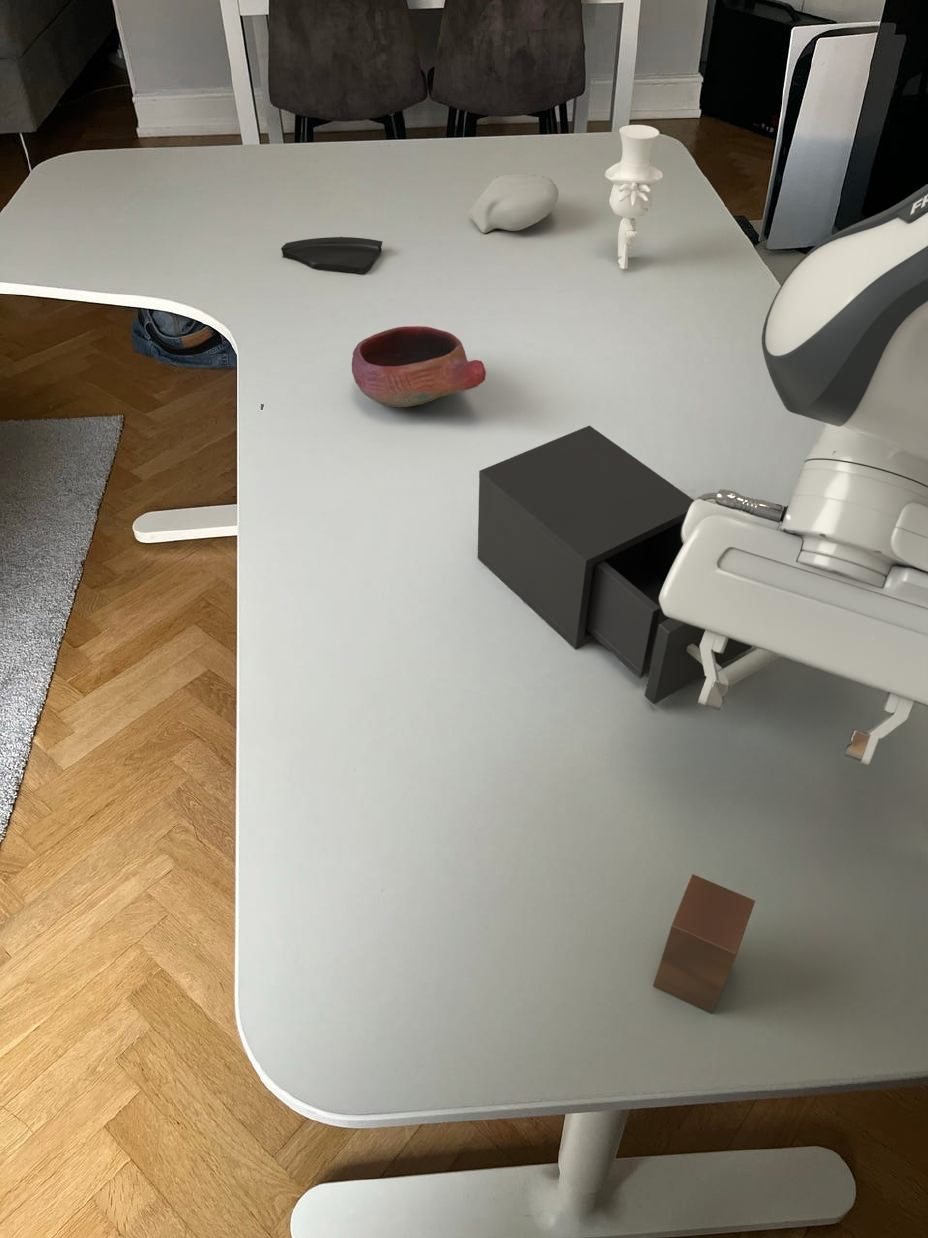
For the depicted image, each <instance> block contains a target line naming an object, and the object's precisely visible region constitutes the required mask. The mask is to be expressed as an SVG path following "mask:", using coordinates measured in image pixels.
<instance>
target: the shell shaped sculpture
mask: <svg viewBox="0 0 928 1238" xmlns="http://www.w3.org/2000/svg"><path fill="white" fill-rule="evenodd" d="M559 195H560V191H559V189H558V187H557V185H556V183H554V180H553V179H552V178H550V177H547V176H544V175H537V174H534V173H508V174H504V175H500V176H496V177H495V178H494V179H493V181H491V182H490V183H489V185H488V186H487V187H486V189H485V191H484V192H482V193H481V194H480V196H479V197H478V198H477V200H476V202H475V203H474V204H473V205H472V206H471V208H470V210H469V215H470V216H471V219H472V221H473V223H474V224H475V225H476V226H477V228H478V229H479V231H480V232H481V233H482V234H487V233H489V232H491V231H493V230H496V229H500V230H504V231H510V232H511V231H512V232H516V231H522V230H524V229H526V228H528V227H530V226H531V227H532V226H533V225H535V224H537V223H538V222H540V221H541V220H543V219H544V218H546V217H547V216H548V215H549V214H550V213H551V212H552V211H553V209H554V208H555V206H556V205H557V203H558V200H559Z"/></svg>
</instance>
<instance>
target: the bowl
mask: <svg viewBox="0 0 928 1238" xmlns="http://www.w3.org/2000/svg"><path fill="white" fill-rule="evenodd" d="M351 373H352V376H353V379H354V381H355V383H356V385H357V387H358V388H359V389H360V391H361V392H362V393H363V394H364V395H365V396H367V397H368V398H369V399H371V400H372V401H374V402H376V403H378V404H381V405H383V406H387V407H392V408H410V407H415V406H419V405H423V404H425V403H429V402H431V401H435V400H436V399H439V398H442V397H444V396H448V395H452V394H457V393H461V392H464V391H468V390H471V389H475V388H477V387H479V386H480V385H481V384H482V383H484V382H485V380H486V376H487V375H486V374H487V371H486V368H485V364H484V363H483V361H482V360H477V359H473V360H469V361H468V358H467V354H466V351H465V348H464V345H463V343H462V341H461V340H460V339H459V338H458V337H457V336H456V335H454V334H452V333H450V332H449V331H445V330H441V329H438V328H435V327H431V326H423V325H422V326H420V325H416V326H413V325H412V326H410V325H409V326H406V325H405V326H399V327H398V326H397V327H394V328H391V329H390V328H389V329H386V330H383V331H380V332H377V333H374V334H373V335H371V336H369V337H367V338H364V339H363V340H361V341H360V342H358V343H357V345H356V346H355V347H354V349H353V352H352V358H351Z"/></svg>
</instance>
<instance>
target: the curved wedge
mask: <svg viewBox="0 0 928 1238" xmlns="http://www.w3.org/2000/svg"><path fill="white" fill-rule="evenodd" d="M382 246H383V241H382V240H378V239H372V238H365V237H352V236H328V237H314V238H306V239H300V240H295V241H289V242H285V244H284V245H282V246H281V248H280V250H281V253H282V258H285V259H288V260H293V261H296V262H299V263H301V264H302V265H305V266H308V267H309V268H311V269H315V270H325V271H337V272H346V273H356V274H366V272H367V271H368V270H369V269H370V268H371V267H372V266H373V265H374V262H375V260H376V258H377V257H378V256H379V255H380V254H381V253H382Z"/></svg>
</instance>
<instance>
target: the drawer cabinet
mask: <svg viewBox="0 0 928 1238" xmlns="http://www.w3.org/2000/svg"><path fill="white" fill-rule="evenodd" d="M694 500H695V499H694V498H692V497H691V496H689V495H688V494H687V493H685V492H684V491H682V490H681V489H679V488H678V487H677V486H675V485H674V484H672V483H671V482H669V480H667V479H665V478H664V477H663V476H662V475H660V474H659V473H657V472H656V471H654V470H653V469H651V468H650V467H649V466H647V465H646V464H645V463H643V462H641V461H640V460H639V459H637V458H636V457H635V456H634V455H632V454H630V453H629V452H627V450H625V449H623V448H622V447H621V446H619V445H618V444H617V443H615V442H613V441H612V440H611V439H610V438H608V437H606V436H605V435H604V434H602V433H601V432H600V431H598V430H597V429H595V427H593V426H592V425H587V426H584V427H582V428H580V429H578V430H575V431H573V432H570V433H567V434H565V435H563V436H560V437H558V438H556V439H553V440H551V441H548V442H545V443H543V444H541V445H538V446H536V447H533V448H532V449H528V450H526V451H523V452H522V453H518V454H517V455H514V456H511V457H510V458H507V459H504V460H502V461H499V462H498V463H495V464H492V465H490V466H488V467H485V468H482V469H480V470H479V471H478V516H477V517H478V519H477V521H478V523H477V559H478V560H479V561H480V562H481V563H482V564H483V565H484V566H485V567H486V568H487V569H488V570H489V571H491V573H493V574H494V575H495V576H496V577H497V578H498V579H499V580H500V581H501V582H502V583H503V584H505V586H507V587H508V589H510V590H511V591H512V592H513V593H514V594H515V595H516V596H518V597H519V599H521V600H522V602H524V603H525V604H526V605H527V606H528V607H529V608H531V609H532V611H533V612H534V613H536V614H537V615H538V616H539V617H540V618H541V619H542V620H543V621H544V622H545V623H546V624H548V625H549V627H551V629H553V630H554V631H555V632H556V633H557V634H558V635H560V637H561V638H562V639H564V641H566V642H567V643H568V644H569V645H570V646H571V647H572V648H573V649H574V650H577V649H579V648H581V647H583V646H584V645H586V644H589V643H590V642H592V641H594V640H597V639H596V638H595V637H594V636H593V635H592V634H590V633H589V632H588V631H587V630H586V629H585V626H586V619H587V611H588V603H589V596H590V588H591V580H592V572H593V565H594V564H596V563H598V562H600V561H603V560H605V559H607V558H609V557H611V556H613V555H615V554H617V553H619V552H621V551H623V550H625V549H627V548H629V547H631V546H633V545H635V544H637V543H639V542H641V541H643V540H646V539H648V538H650V537H652V536H654V535H656V534H658V533H660V532H662V531H664V530H666V529H668V528H670V527H672V526H674V525H676V524H678V523H680V522H682V521H684V519H685V516H686V513H687V511H688V508H689V506H690V505H691V503H692V502H693V501H694Z"/></svg>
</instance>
